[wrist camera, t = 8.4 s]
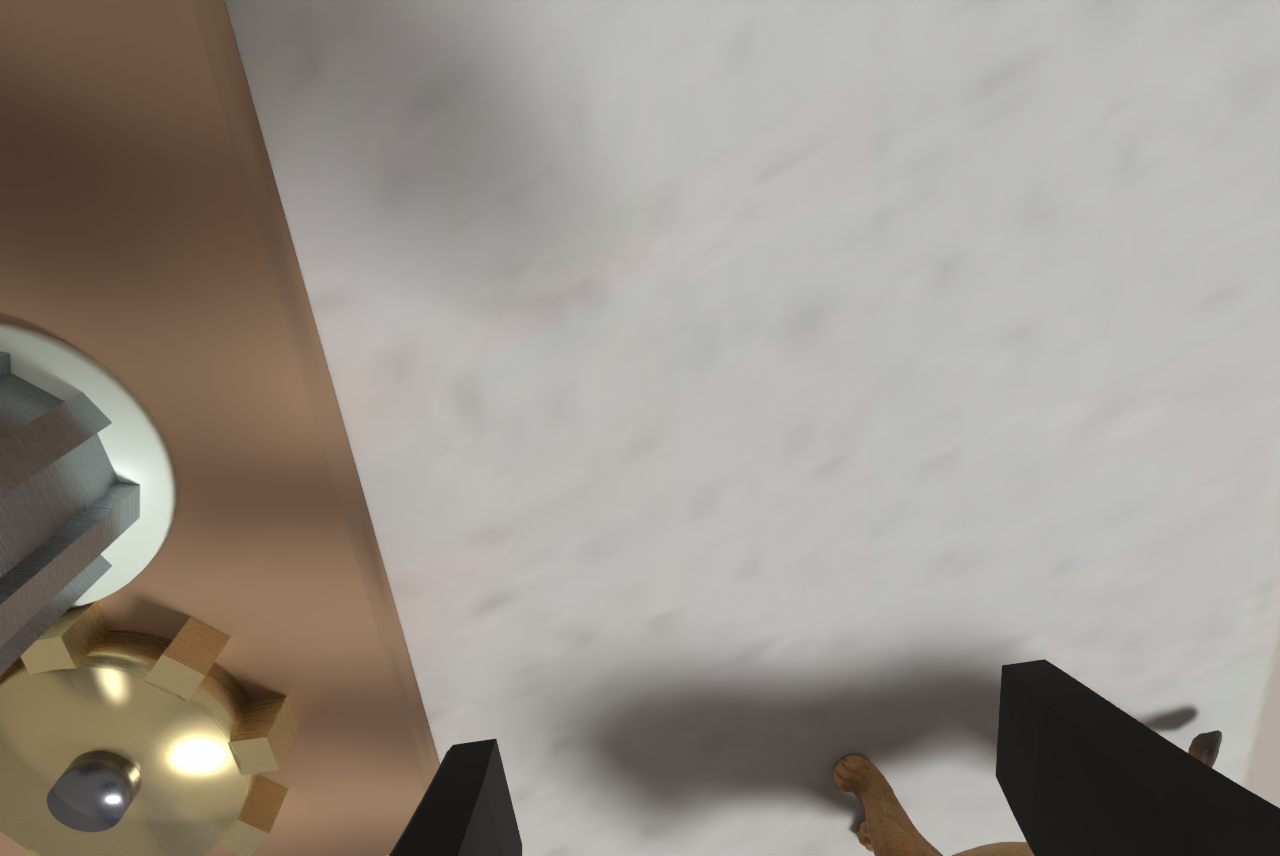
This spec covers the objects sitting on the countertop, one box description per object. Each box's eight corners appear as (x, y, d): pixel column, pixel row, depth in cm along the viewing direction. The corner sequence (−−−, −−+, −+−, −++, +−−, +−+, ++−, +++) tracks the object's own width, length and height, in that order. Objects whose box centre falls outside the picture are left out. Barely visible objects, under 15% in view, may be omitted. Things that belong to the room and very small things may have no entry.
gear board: (450, 800, 24) (426, 922, 20) (3, 865, 23) (-99, 1000, 20) (188, -127, 15) (66, -199, 11) (-526, -37, 15) (-874, -81, 11)
